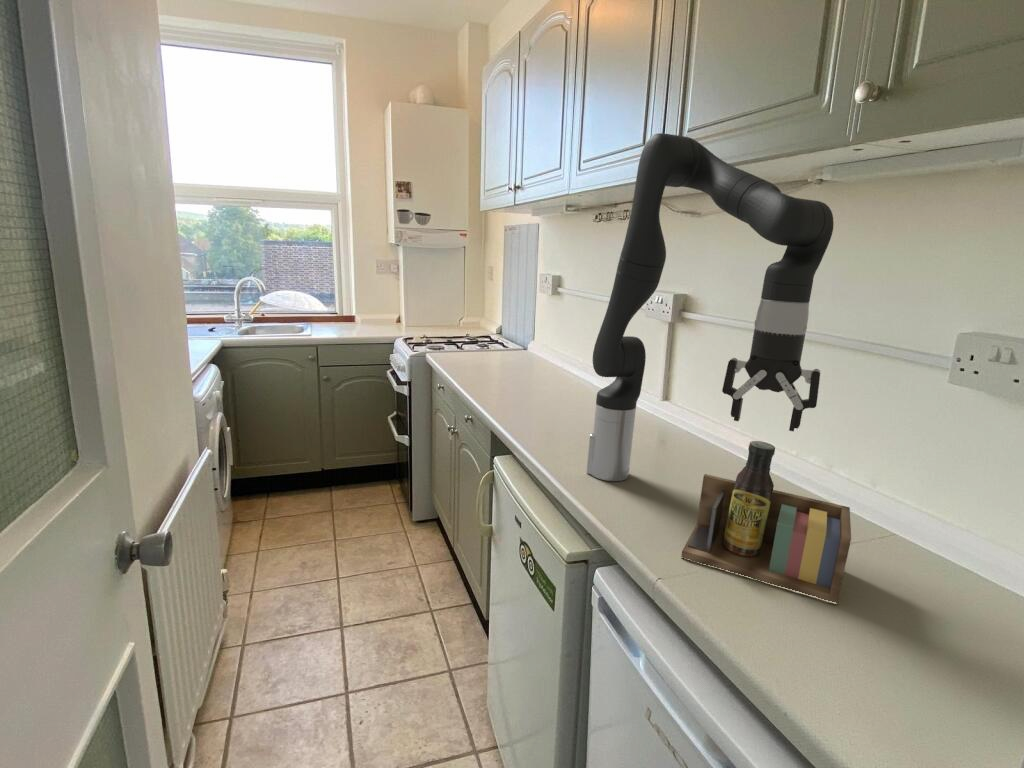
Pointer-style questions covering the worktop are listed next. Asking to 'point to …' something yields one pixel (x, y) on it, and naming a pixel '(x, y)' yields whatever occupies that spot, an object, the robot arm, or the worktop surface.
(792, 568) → the book row
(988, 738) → the worktop surface
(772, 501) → the shelf
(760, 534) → the sauce bottle
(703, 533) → the bookend
